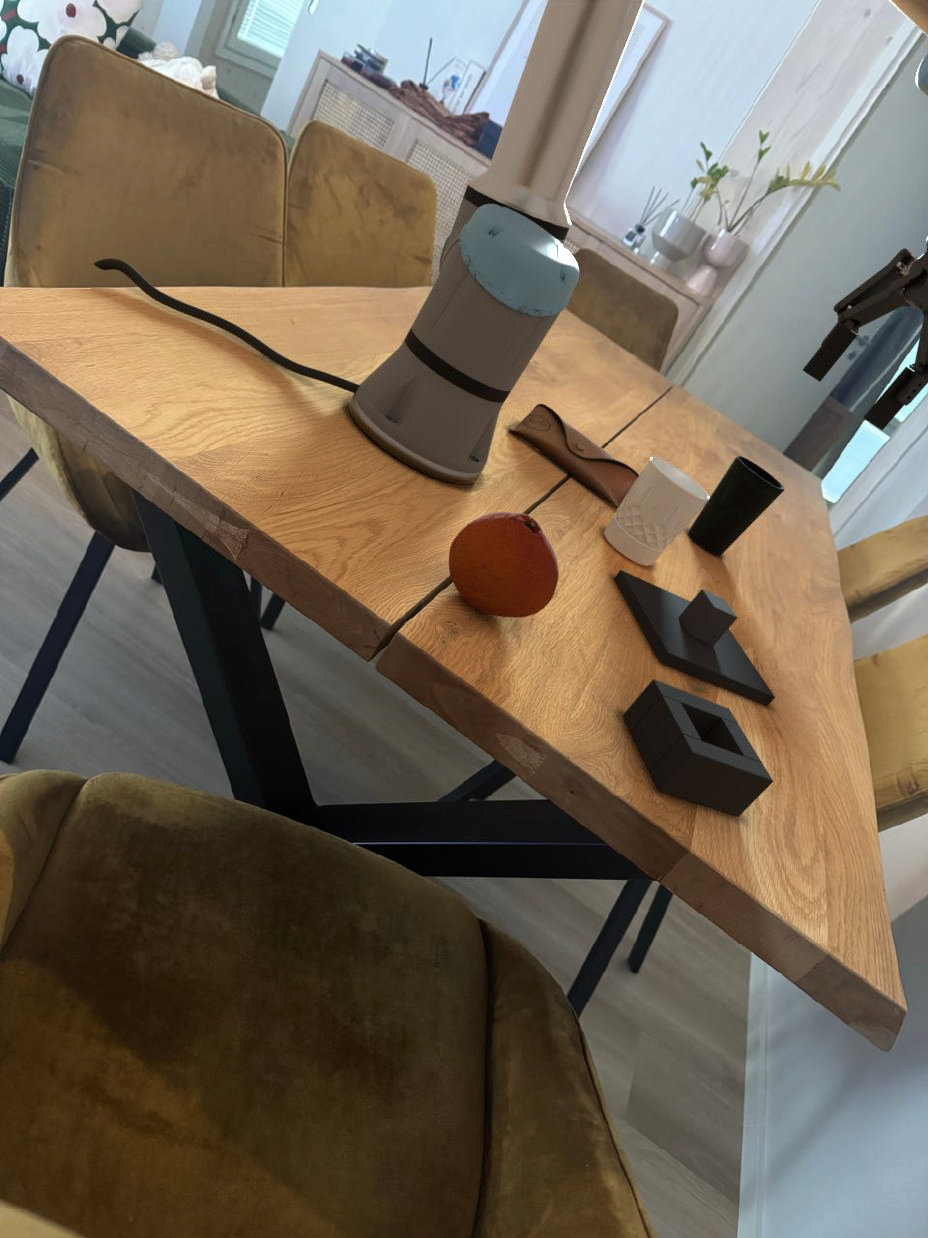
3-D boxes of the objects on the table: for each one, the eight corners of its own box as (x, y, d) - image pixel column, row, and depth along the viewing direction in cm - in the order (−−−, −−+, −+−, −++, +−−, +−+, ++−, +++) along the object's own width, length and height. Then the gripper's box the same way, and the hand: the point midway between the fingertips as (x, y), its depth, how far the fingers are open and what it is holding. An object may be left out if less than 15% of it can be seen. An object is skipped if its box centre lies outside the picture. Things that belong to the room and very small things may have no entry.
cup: (729, 568, 122) (788, 496, 117) (682, 537, 121) (739, 463, 116) (724, 548, 129) (780, 480, 124) (680, 519, 128) (734, 449, 123)
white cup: (661, 561, 108) (714, 493, 103) (648, 577, 101) (705, 504, 96) (607, 521, 109) (657, 452, 104) (591, 534, 102) (644, 460, 97)
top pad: (657, 791, 64) (692, 752, 63) (622, 715, 71) (653, 678, 69) (738, 817, 68) (774, 781, 66) (698, 742, 74) (729, 708, 72)
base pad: (660, 662, 83) (694, 621, 81) (613, 578, 94) (642, 540, 92) (767, 706, 89) (802, 669, 87) (711, 622, 100) (740, 587, 98)
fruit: (499, 650, 68) (558, 567, 65) (414, 575, 70) (466, 491, 67) (544, 626, 76) (599, 551, 72) (466, 559, 78) (516, 483, 75)
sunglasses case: (506, 426, 116) (538, 386, 116) (505, 444, 123) (535, 406, 123) (621, 510, 114) (653, 469, 115) (613, 523, 121) (643, 484, 122)
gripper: (1085, 282, 88) (923, 461, 97) (930, 217, 108) (808, 371, 117) (1042, 243, 85) (879, 432, 94) (891, 183, 104) (768, 344, 113)
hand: (840, 399), depth 105 cm, fingers open, 13 cm apart
